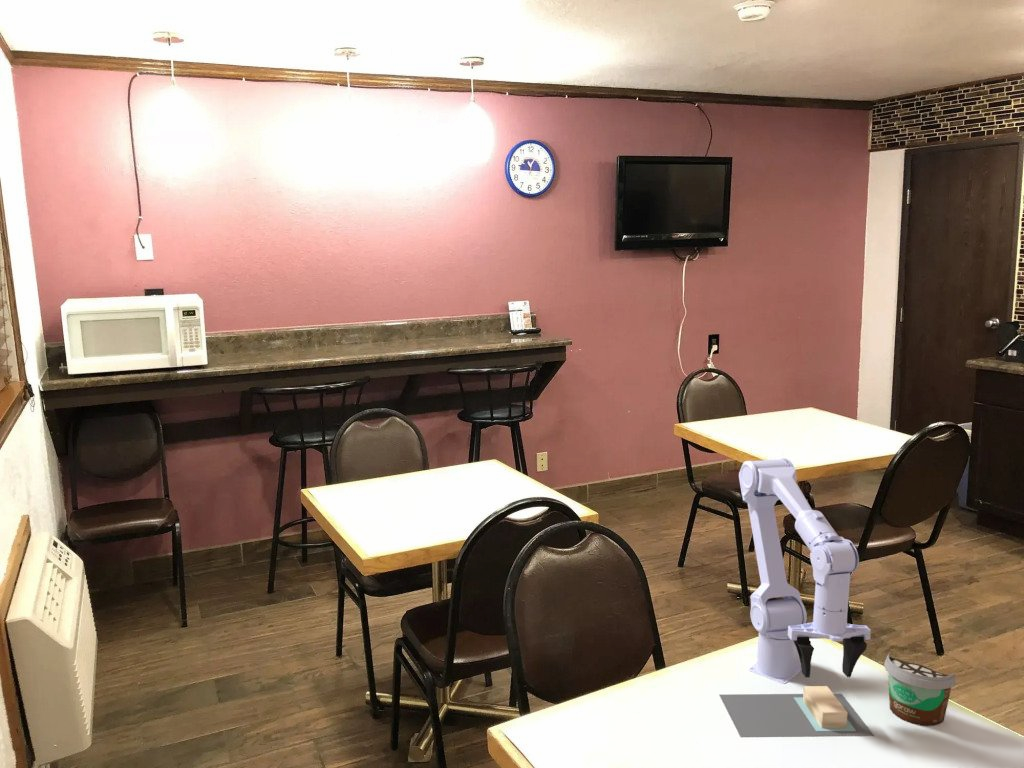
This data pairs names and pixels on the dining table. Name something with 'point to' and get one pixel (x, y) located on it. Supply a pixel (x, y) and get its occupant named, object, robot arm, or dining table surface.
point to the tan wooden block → (825, 707)
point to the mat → (785, 717)
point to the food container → (918, 692)
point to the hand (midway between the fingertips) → (826, 674)
